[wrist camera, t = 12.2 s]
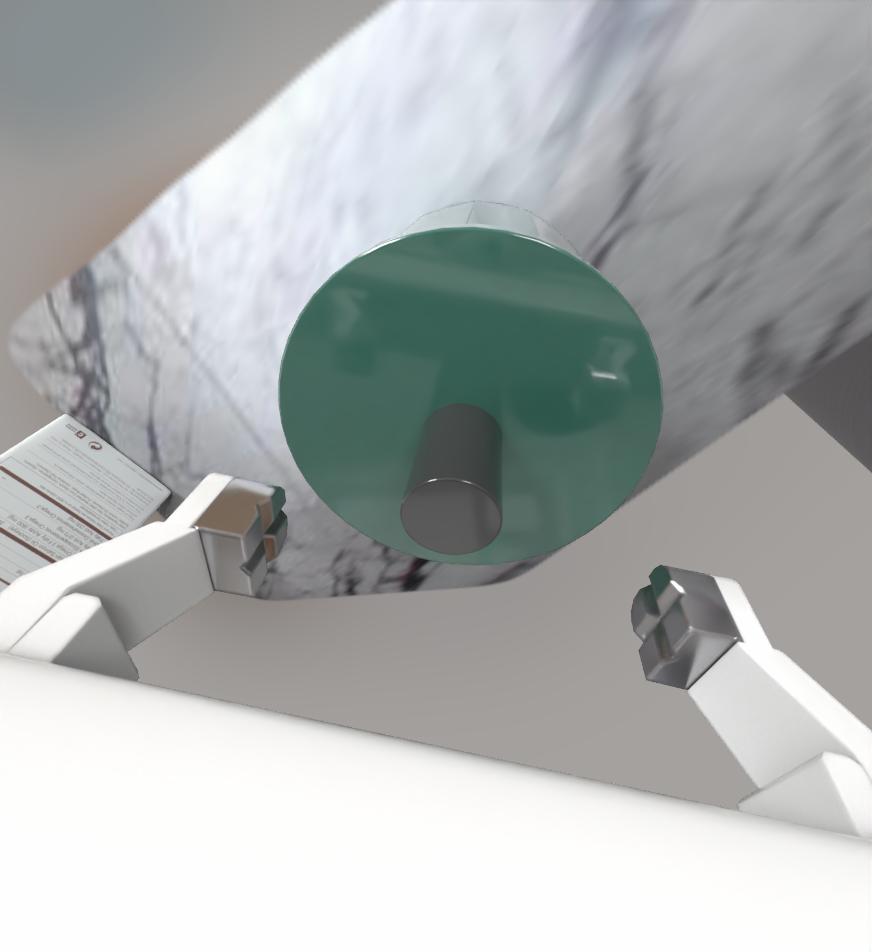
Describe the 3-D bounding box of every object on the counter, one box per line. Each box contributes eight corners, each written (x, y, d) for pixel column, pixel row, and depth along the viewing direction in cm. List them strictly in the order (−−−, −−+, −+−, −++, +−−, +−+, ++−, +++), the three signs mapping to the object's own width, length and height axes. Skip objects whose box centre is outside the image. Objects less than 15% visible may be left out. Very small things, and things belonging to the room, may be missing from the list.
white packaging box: (125, 535, 32) (-45, 715, 22) (22, 466, 29) (-231, 639, 19) (178, 491, 29) (6, 680, 19) (67, 408, 26) (-210, 580, 16)
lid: (732, 265, 11) (856, 333, 7) (575, 565, 17) (596, 681, 14) (280, 180, 11) (162, 202, 7) (300, 512, 17) (245, 614, 14)
